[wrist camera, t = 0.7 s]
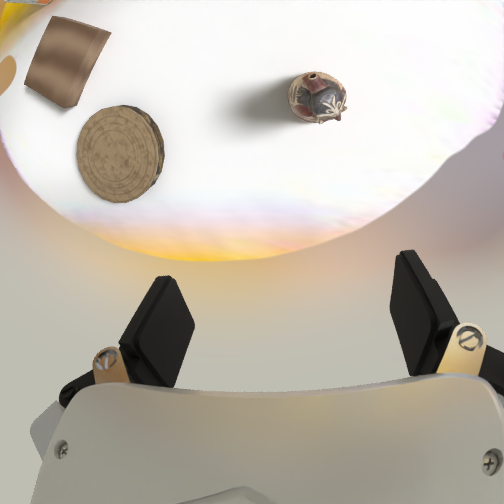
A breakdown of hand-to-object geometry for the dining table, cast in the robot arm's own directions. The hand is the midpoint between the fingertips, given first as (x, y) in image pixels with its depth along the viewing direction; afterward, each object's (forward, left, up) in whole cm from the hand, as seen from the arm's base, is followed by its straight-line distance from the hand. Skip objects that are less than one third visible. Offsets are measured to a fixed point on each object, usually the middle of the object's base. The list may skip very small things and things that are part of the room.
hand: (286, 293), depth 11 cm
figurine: (-9, -2, -30) cm, 31 cm away
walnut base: (+4, -42, -30) cm, 52 cm away
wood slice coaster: (+14, -22, -31) cm, 40 cm away
